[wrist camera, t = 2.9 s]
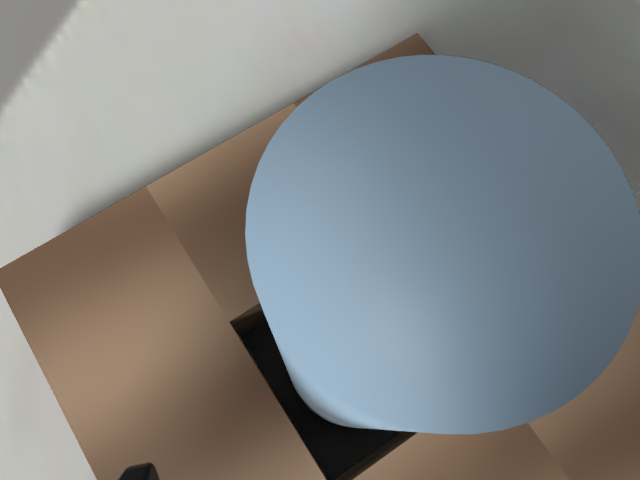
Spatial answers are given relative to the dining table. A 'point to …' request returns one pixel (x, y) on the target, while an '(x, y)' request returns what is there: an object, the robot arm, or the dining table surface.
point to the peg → (441, 248)
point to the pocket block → (245, 349)
